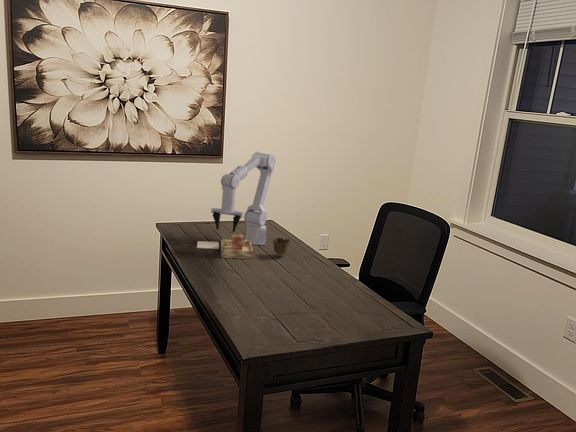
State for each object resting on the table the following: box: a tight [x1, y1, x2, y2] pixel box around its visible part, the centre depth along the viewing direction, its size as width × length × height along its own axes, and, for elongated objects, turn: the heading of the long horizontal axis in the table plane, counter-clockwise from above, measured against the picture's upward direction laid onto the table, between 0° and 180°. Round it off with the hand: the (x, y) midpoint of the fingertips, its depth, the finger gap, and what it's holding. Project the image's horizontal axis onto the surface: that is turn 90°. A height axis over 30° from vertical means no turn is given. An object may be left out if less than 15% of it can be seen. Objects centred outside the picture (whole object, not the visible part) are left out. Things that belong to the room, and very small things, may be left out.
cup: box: [273, 237, 290, 258], centre depth 241 cm, size 8×7×8 cm
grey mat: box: [196, 240, 220, 250], centre depth 248 cm, size 10×10×1 cm
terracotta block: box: [231, 233, 244, 250], centre depth 237 cm, size 4×4×6 cm
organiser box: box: [220, 239, 254, 260], centre depth 241 cm, size 14×16×4 cm
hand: (225, 230), depth 239 cm, fingers open, 7 cm apart
